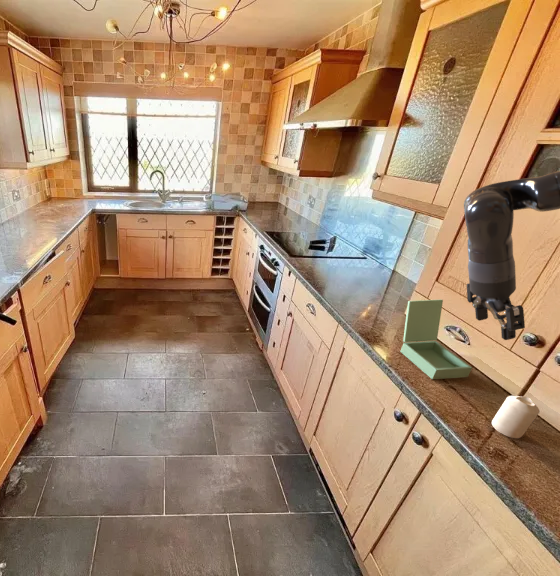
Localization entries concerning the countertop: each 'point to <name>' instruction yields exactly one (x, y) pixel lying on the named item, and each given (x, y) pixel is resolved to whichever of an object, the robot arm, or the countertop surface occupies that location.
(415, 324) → the caddy lid
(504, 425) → the candle
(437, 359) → the tray
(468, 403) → the countertop surface
